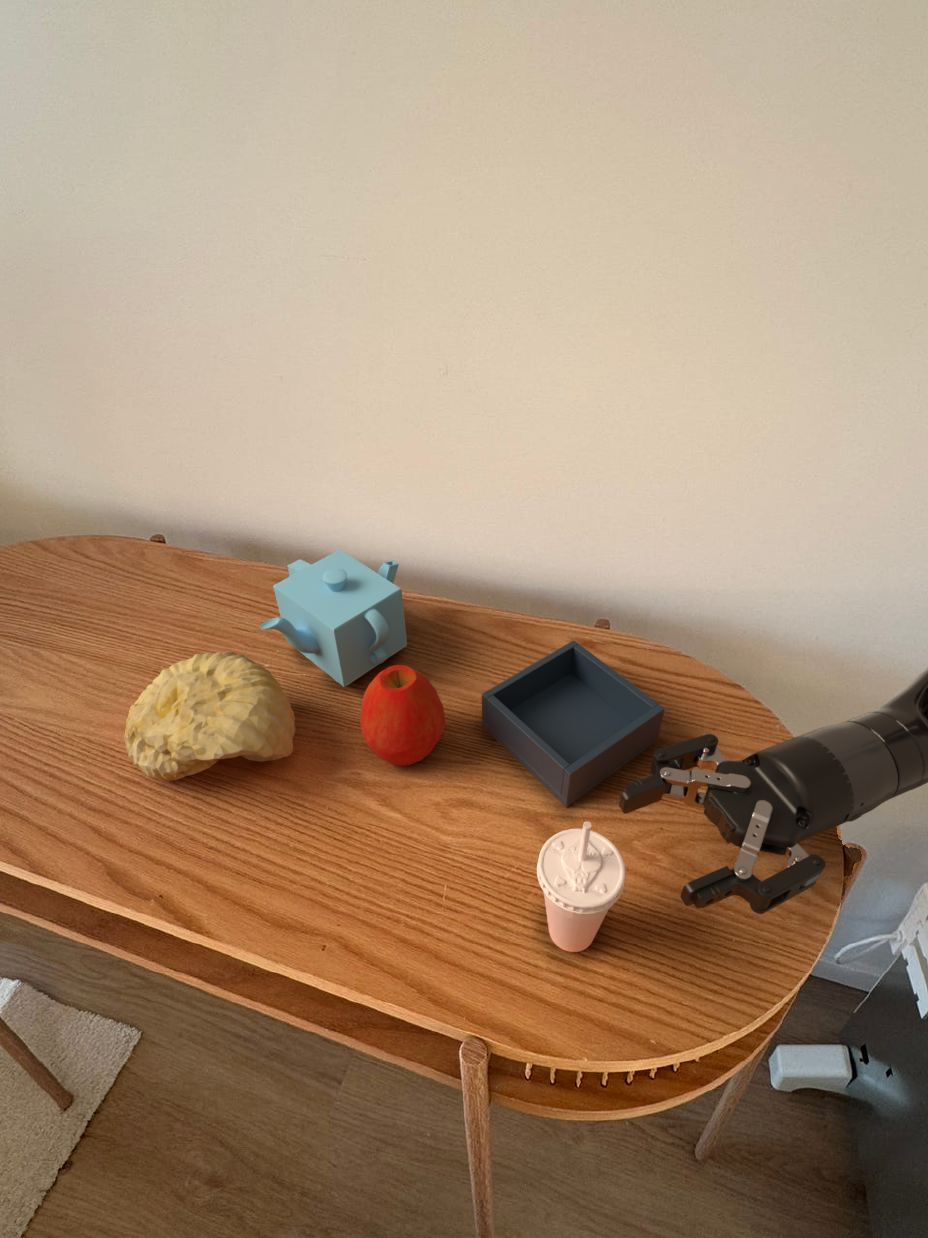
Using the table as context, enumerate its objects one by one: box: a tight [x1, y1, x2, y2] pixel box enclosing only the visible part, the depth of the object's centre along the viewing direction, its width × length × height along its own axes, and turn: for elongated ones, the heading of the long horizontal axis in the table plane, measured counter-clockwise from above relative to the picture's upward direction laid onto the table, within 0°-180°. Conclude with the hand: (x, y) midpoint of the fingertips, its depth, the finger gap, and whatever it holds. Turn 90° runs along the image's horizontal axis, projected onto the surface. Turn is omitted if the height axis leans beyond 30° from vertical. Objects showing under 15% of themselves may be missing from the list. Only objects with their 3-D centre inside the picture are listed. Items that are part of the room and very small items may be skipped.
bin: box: [481, 639, 666, 808], centre depth 73 cm, size 13×13×5 cm
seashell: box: [123, 651, 296, 782], centre depth 71 cm, size 17×11×15 cm
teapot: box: [259, 549, 408, 688], centre depth 81 cm, size 16×18×11 cm
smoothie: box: [536, 820, 626, 953], centre depth 55 cm, size 6×6×14 cm
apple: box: [359, 664, 446, 767], centre depth 70 cm, size 8×8×11 cm
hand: (651, 848), depth 56 cm, fingers open, 8 cm apart
